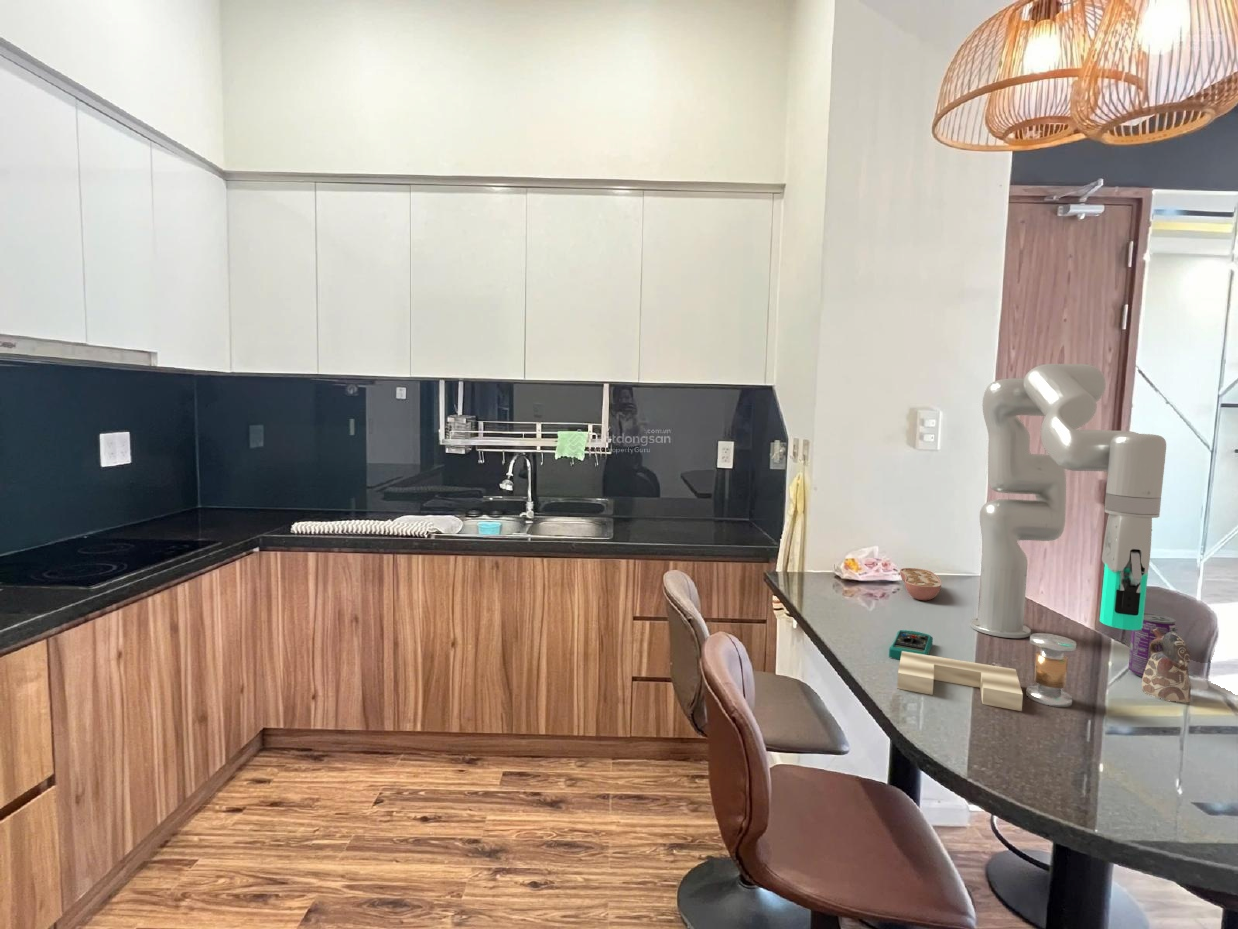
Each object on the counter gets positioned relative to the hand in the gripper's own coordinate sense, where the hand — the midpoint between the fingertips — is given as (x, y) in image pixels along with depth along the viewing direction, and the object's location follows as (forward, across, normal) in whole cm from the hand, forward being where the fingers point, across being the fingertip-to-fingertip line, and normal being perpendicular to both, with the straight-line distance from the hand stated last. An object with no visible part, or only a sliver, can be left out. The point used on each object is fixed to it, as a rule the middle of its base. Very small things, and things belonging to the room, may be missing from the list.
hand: (1122, 608), depth 116 cm
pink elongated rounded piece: (+20, -68, -33) cm, 78 cm away
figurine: (+18, -12, +10) cm, 24 cm away
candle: (+3, 0, 0) cm, 3 cm away
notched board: (+18, +3, -25) cm, 31 cm away
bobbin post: (+18, +1, -10) cm, 21 cm away
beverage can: (+19, -22, +10) cm, 31 cm away
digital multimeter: (+19, -14, -33) cm, 41 cm away
